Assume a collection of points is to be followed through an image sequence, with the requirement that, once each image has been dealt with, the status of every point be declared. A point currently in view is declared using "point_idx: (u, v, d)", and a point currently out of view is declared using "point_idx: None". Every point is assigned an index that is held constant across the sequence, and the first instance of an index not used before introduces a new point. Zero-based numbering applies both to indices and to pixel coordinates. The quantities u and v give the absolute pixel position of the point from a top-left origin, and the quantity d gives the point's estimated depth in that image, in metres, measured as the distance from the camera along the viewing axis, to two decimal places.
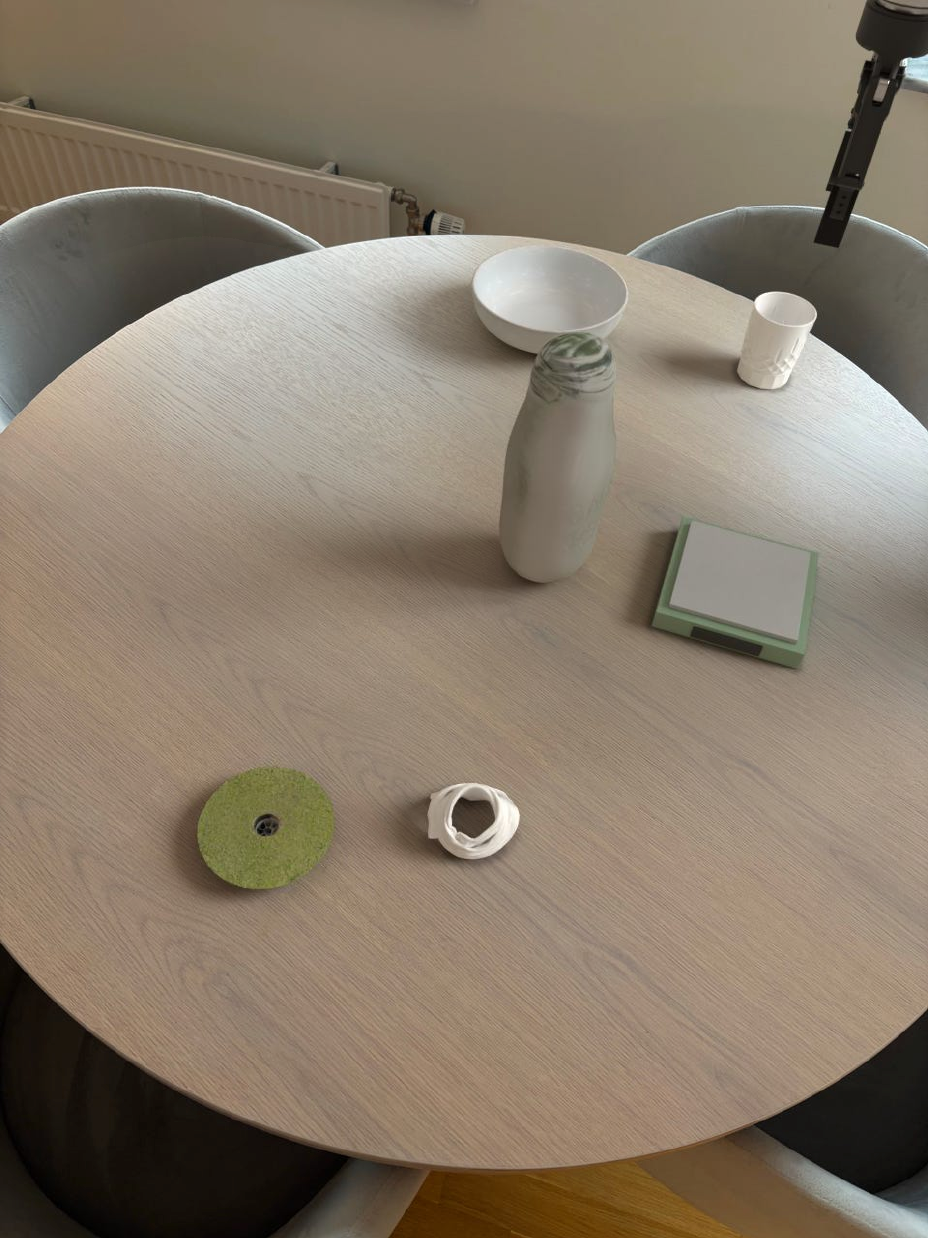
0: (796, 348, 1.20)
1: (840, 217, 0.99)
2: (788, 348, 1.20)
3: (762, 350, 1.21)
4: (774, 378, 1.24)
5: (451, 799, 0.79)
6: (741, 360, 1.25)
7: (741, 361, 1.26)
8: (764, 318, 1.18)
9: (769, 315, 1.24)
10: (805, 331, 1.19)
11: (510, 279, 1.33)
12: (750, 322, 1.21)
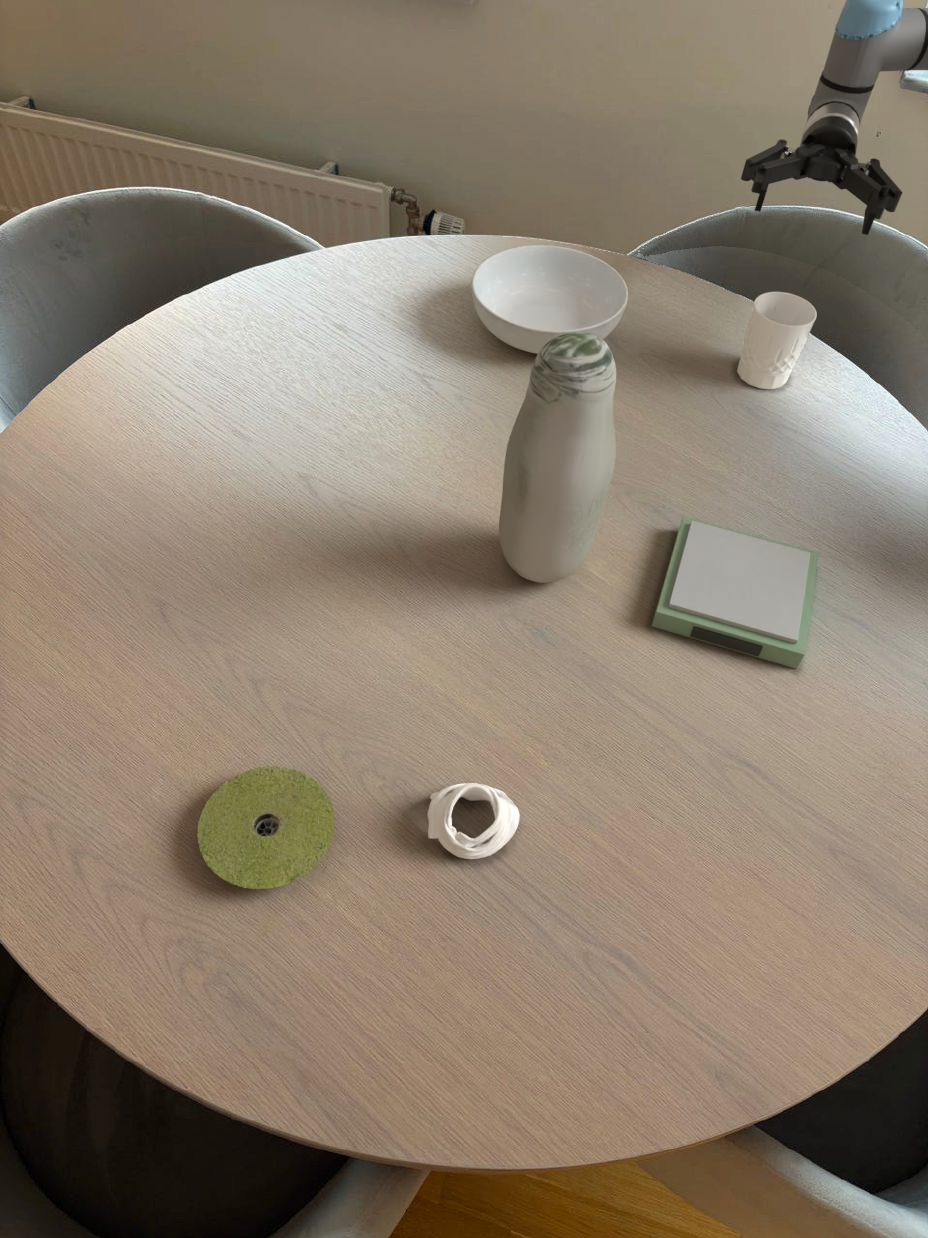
0: (796, 348, 1.20)
1: None
2: (788, 348, 1.20)
3: (762, 350, 1.21)
4: (774, 378, 1.24)
5: (451, 799, 0.79)
6: (741, 360, 1.25)
7: (741, 361, 1.26)
8: (764, 318, 1.18)
9: (769, 315, 1.24)
10: (805, 331, 1.19)
11: (510, 279, 1.33)
12: (750, 322, 1.21)
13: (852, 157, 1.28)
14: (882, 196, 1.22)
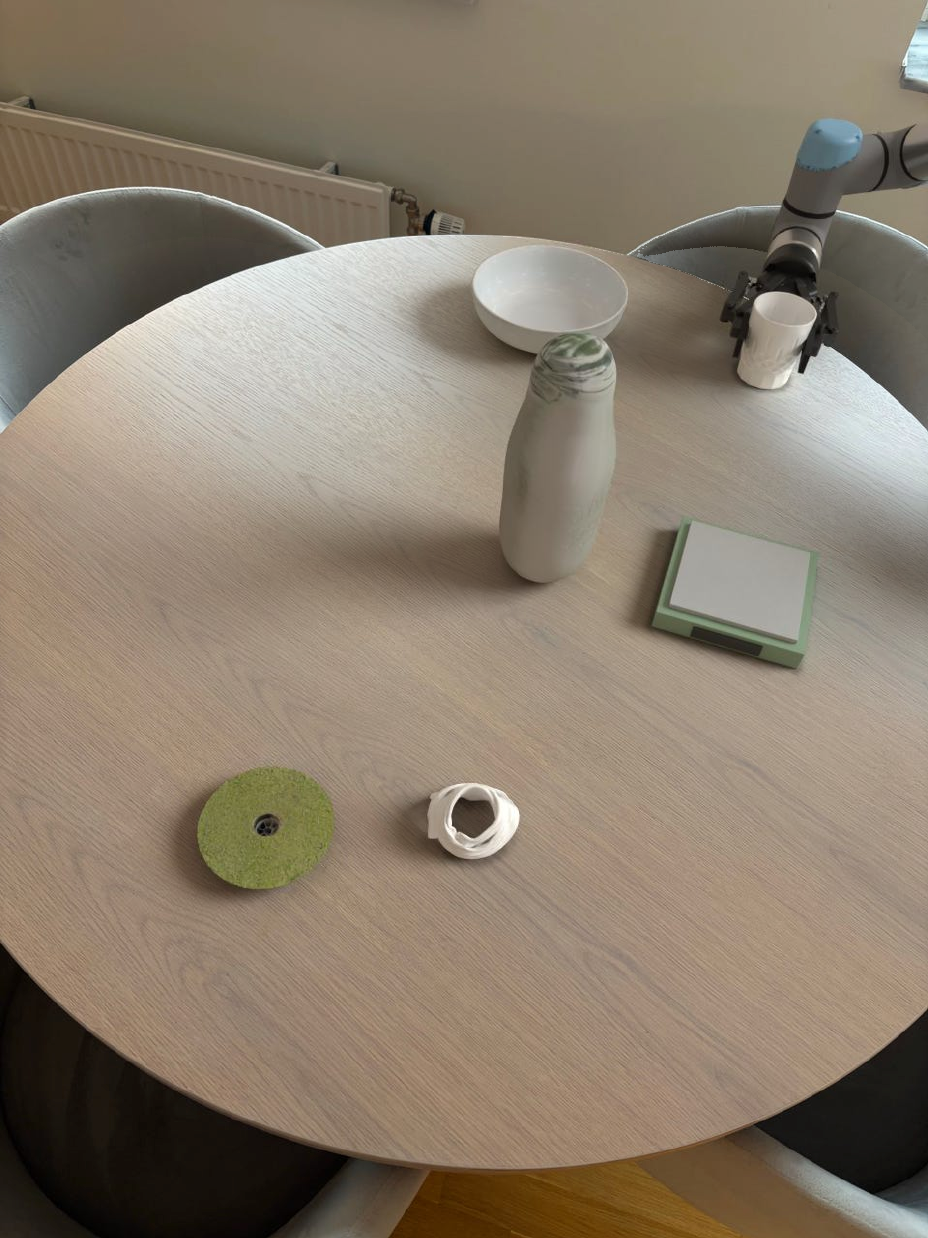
0: (796, 348, 1.20)
1: (731, 328, 1.23)
2: (788, 348, 1.20)
3: (762, 350, 1.21)
4: (774, 378, 1.24)
5: (451, 799, 0.79)
6: (741, 360, 1.25)
7: (741, 361, 1.26)
8: (764, 318, 1.18)
9: (769, 315, 1.24)
10: (805, 331, 1.19)
11: (510, 279, 1.33)
12: (750, 322, 1.21)
13: (813, 287, 1.29)
14: (817, 333, 1.22)
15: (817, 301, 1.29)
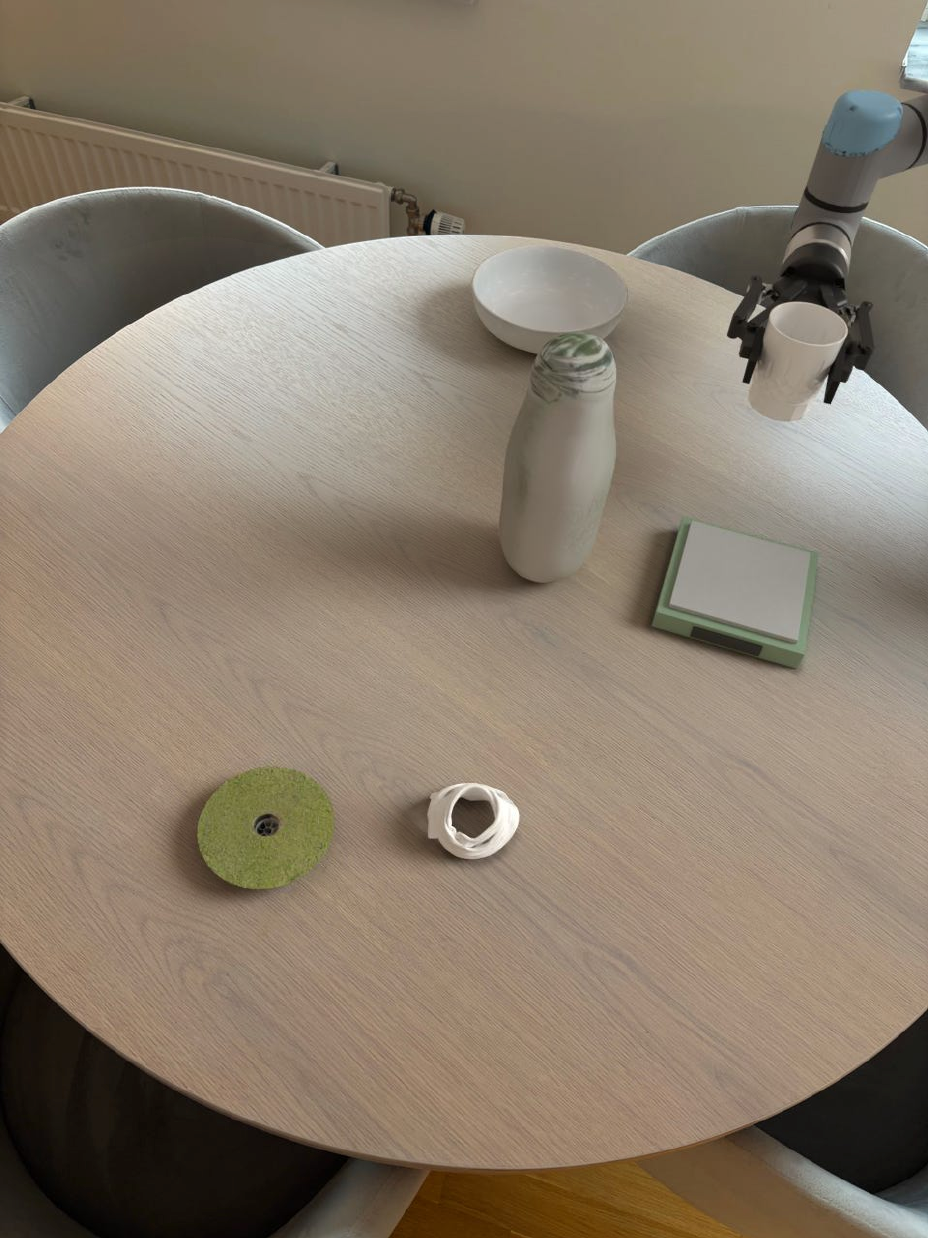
0: (822, 372, 0.97)
1: (741, 346, 0.99)
2: (812, 372, 0.96)
3: (779, 374, 0.98)
4: (794, 408, 1.00)
5: (451, 799, 0.79)
6: (753, 385, 1.02)
7: (753, 387, 1.02)
8: (782, 335, 0.95)
9: (788, 330, 1.01)
10: (833, 351, 0.95)
11: (510, 279, 1.33)
12: (764, 339, 0.98)
13: (841, 296, 1.05)
14: (847, 353, 0.99)
15: (846, 313, 1.06)
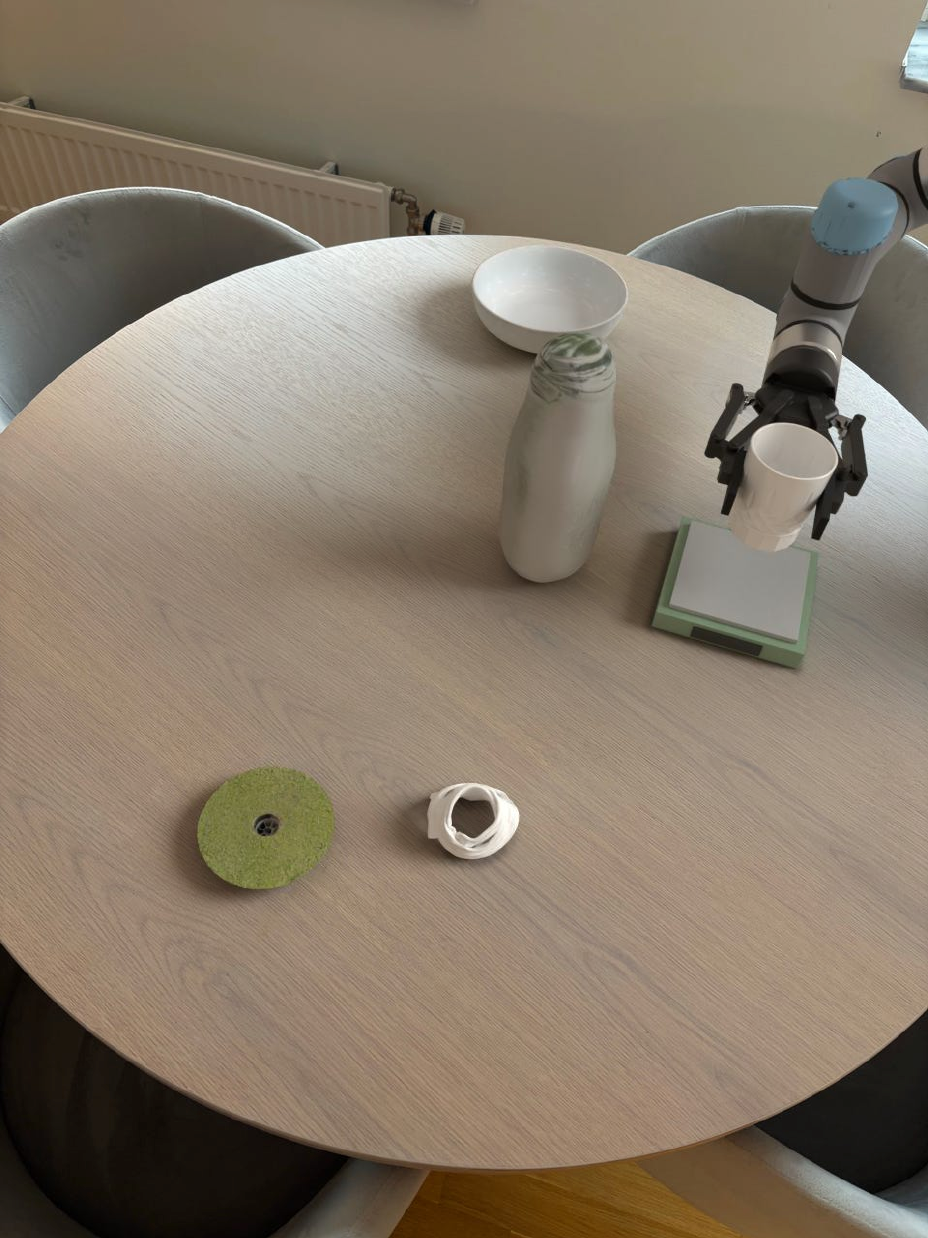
0: (809, 504, 0.87)
1: (720, 472, 0.89)
2: (798, 505, 0.86)
3: (762, 506, 0.87)
4: (778, 539, 0.90)
5: (451, 799, 0.79)
6: (733, 511, 0.92)
7: (733, 513, 0.92)
8: (765, 466, 0.85)
9: (772, 452, 0.91)
10: (822, 483, 0.85)
11: (510, 279, 1.33)
12: (745, 466, 0.88)
13: (831, 407, 0.95)
14: (838, 480, 0.89)
15: (837, 426, 0.96)
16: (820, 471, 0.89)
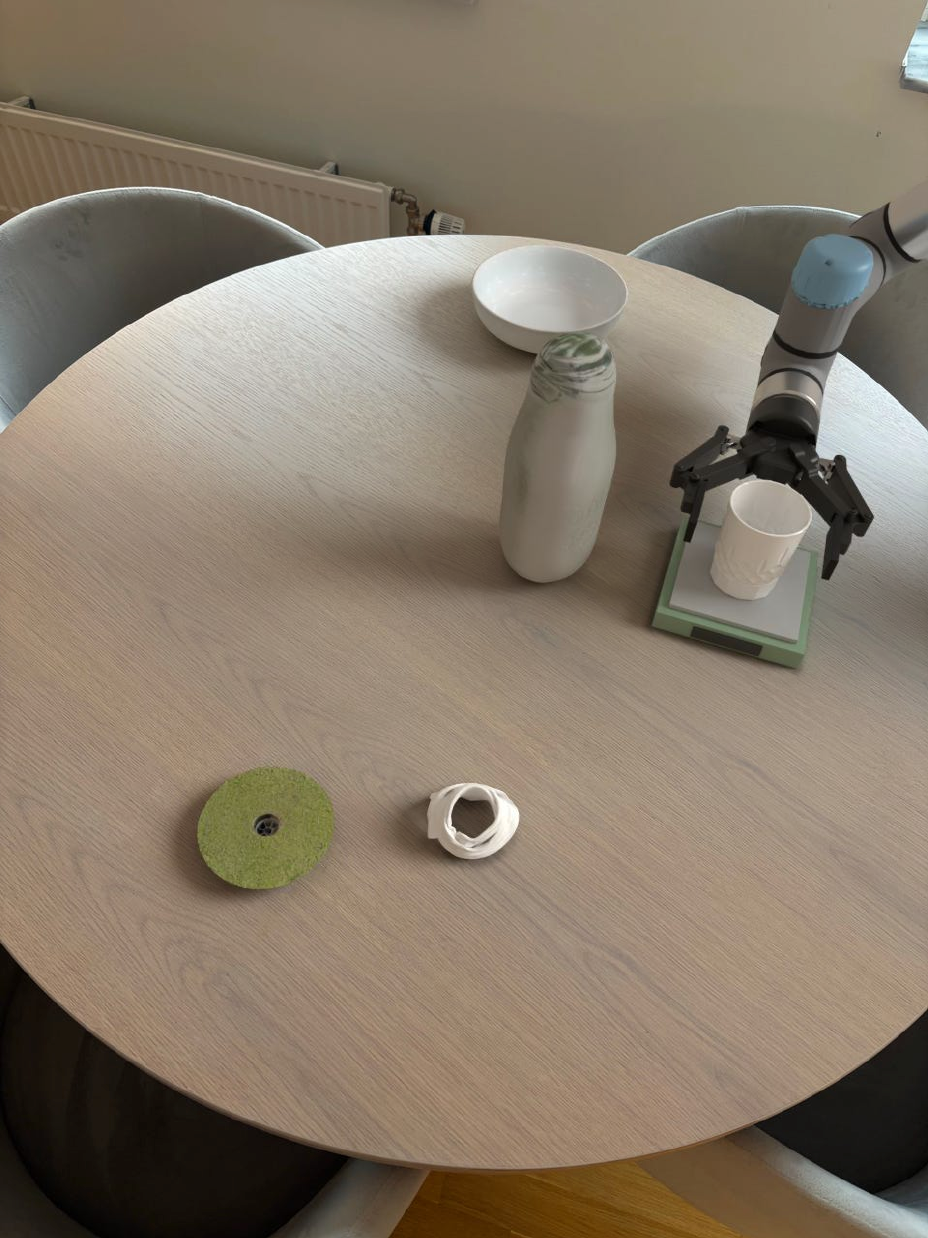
0: (785, 558, 0.92)
1: (682, 501, 0.95)
2: (774, 559, 0.91)
3: (741, 559, 0.93)
4: (757, 589, 0.95)
5: (451, 799, 0.79)
6: (715, 562, 0.97)
7: (715, 563, 0.97)
8: (742, 523, 0.90)
9: (750, 506, 0.96)
10: (796, 539, 0.90)
11: (510, 279, 1.33)
12: (725, 522, 0.93)
13: (811, 453, 1.00)
14: (847, 522, 0.94)
15: (820, 469, 1.01)
16: (796, 525, 0.94)
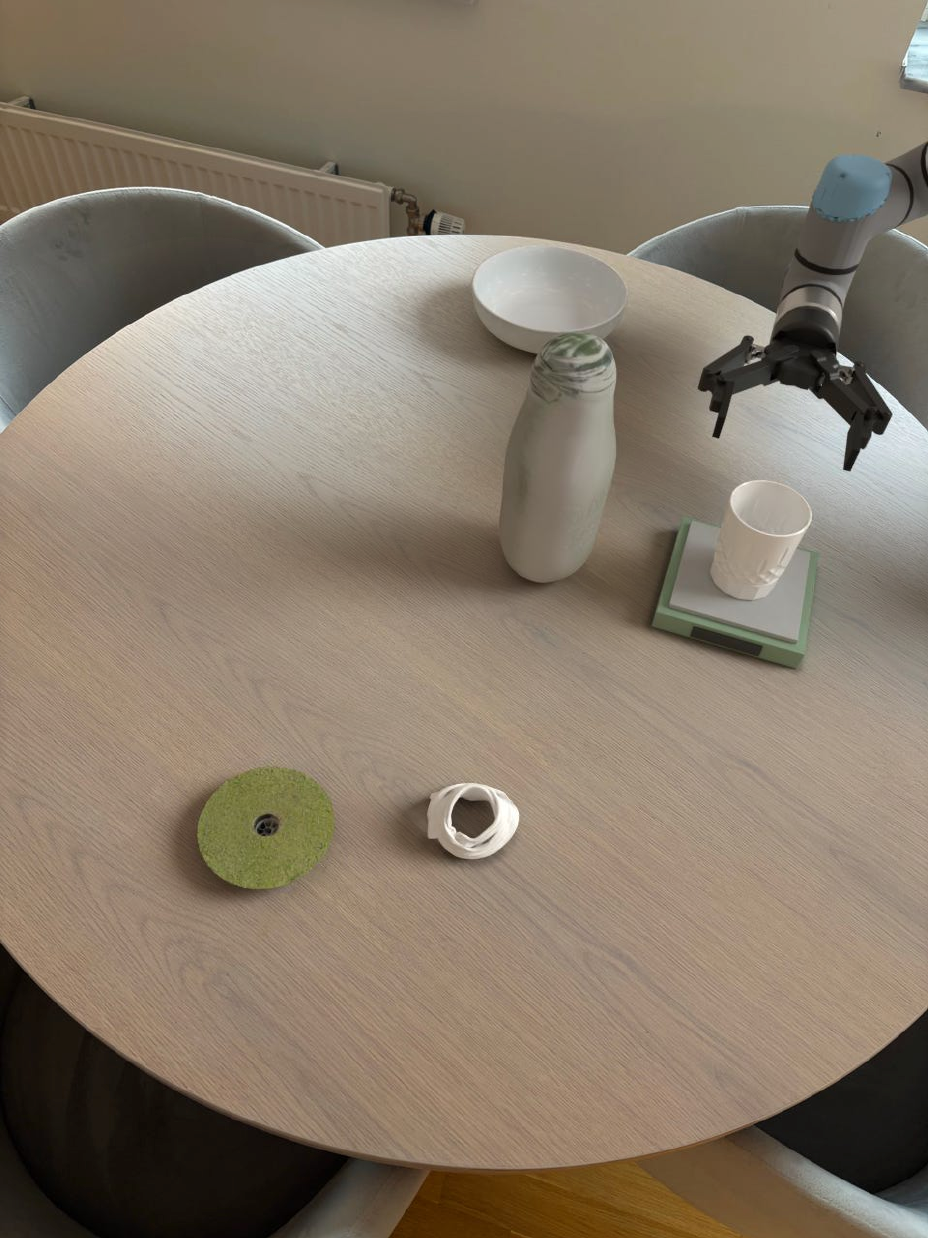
0: (785, 558, 0.92)
1: (711, 401, 1.01)
2: (774, 559, 0.91)
3: (741, 559, 0.93)
4: (757, 589, 0.95)
5: (451, 799, 0.79)
6: (715, 562, 0.97)
7: (715, 563, 0.97)
8: (742, 523, 0.90)
9: (750, 506, 0.96)
10: (796, 539, 0.90)
11: (510, 279, 1.33)
12: (725, 522, 0.93)
13: (832, 360, 1.06)
14: (867, 419, 1.00)
15: (840, 376, 1.06)
16: (796, 525, 0.94)
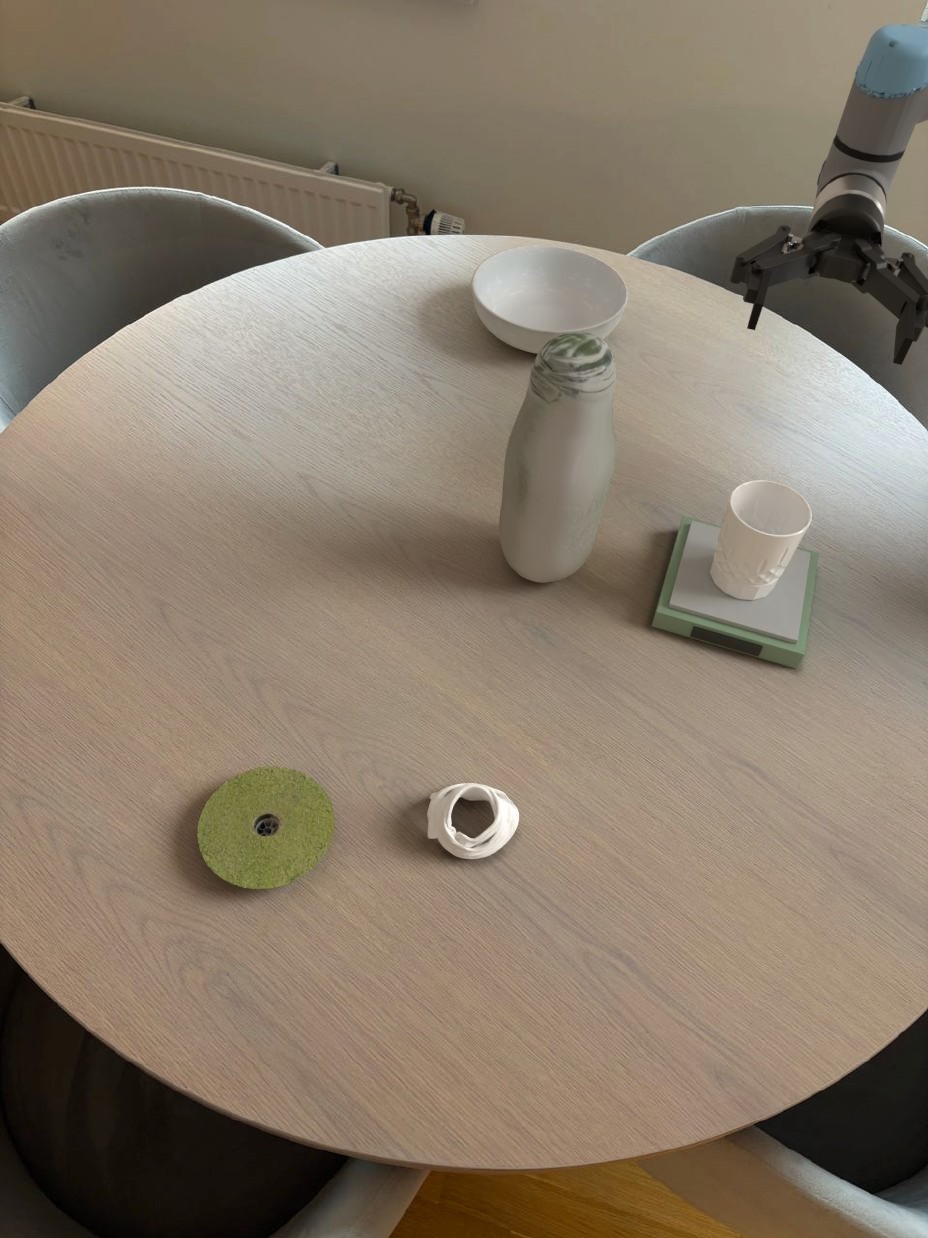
0: (785, 558, 0.92)
1: (746, 289, 0.91)
2: (774, 559, 0.91)
3: (741, 559, 0.93)
4: (757, 589, 0.95)
5: (450, 799, 0.79)
6: (715, 562, 0.97)
7: (715, 563, 0.97)
8: (742, 523, 0.90)
9: (750, 506, 0.96)
10: (796, 539, 0.90)
11: (510, 279, 1.33)
12: (725, 522, 0.93)
13: (877, 251, 0.96)
14: (919, 310, 0.90)
15: (886, 268, 0.96)
16: (796, 525, 0.94)
